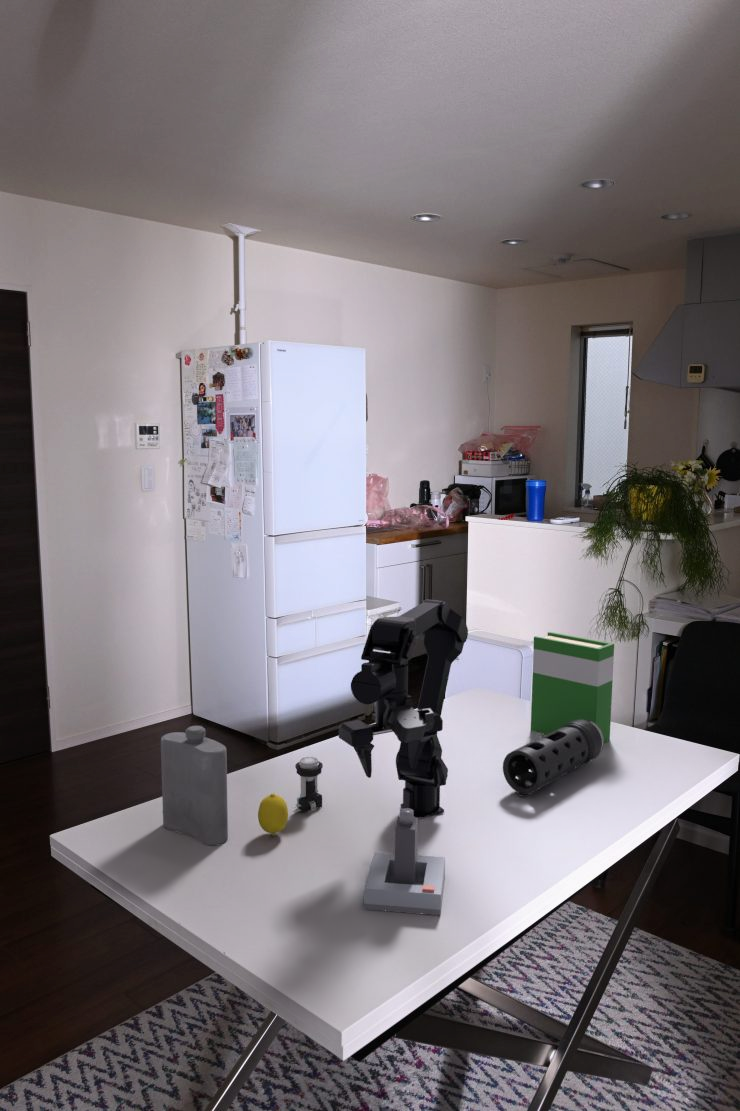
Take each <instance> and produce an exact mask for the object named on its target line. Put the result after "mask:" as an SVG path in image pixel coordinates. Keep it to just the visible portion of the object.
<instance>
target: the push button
mask: <svg viewBox="0 0 740 1111" xmlns="http://www.w3.org/2000/svg"><path fill="white" fill-rule="evenodd" d="M323 767H324V766H323V763H322V762H321V761H319V759H318V758H317V757H314V756H306V757H301V758H300V759H299V761H298V762H297V763H295V769H296V774H297V775H298V776H299V777H300V794H299V796H298V797H297V798H296V802H297V803H296V804H295V805H292V806H291V808H293V810H292V812H293V813H297V812H300V813H302V814H303V813H306V812H309V811H310V812H314V811H315V810H316V809H321V808H322V807H323V795H322V794H321V793H319V789H318V776H320V775H321V774H322V769H323ZM317 807H318V808H317ZM320 807H321V808H320ZM295 808H296V809H295Z"/></svg>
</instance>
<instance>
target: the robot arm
mask: <svg viewBox="0 0 740 1111" xmlns="http://www.w3.org/2000/svg"><path fill="white" fill-rule="evenodd" d="M421 634H422V635H423V639H422V640H423V642H422V643H423V647H424V649H425V652H426V656H427V661H426V665H425V671H424V676H423V681H422V684H421V685H422V686H421V690H420V696H419V699H418V706H417V709H414V705H413V699H412V698H413V697H412V696H411V695H409V694H408V693H409V661H410V660H411V659H412V658H413V656H412V655H411V654H412V652H413V649H414V647H415V646H416V645H417V637H418V636H420V635H421ZM468 635H469V629H468V625H467V624H466V622H465V619H464V618H463V616H462V615H460V614H458V612H455V611H454V610H453V609H452V608H451V607H450V606H449V604H448V603H447V602H445V601H443V600H435V599H427V598H426V599H425V600H421V601H420V603H419V604H418V605H416V606H414V607H413V608H411V609H409V610H408V611H405V612H404V613H403V614H400V615H399V616H383V617H378V618H376V619H375V621H374V622H373V624H371V626H370V629H369V630H368V634H367V637H366V640H365V644H364V647H363V650H362V654H361V657H360V659H361V660H363V661H368V662H363V663H361V670H359V672H357V673H356V674H354V675H353V677H352V679H351V682H350V690H351V693H352V696H353V697H354V698H355V699H356V701H358V702H359V703H361V704H362V705H372V704H374V703H375V713H371V720H372V721H374V722H375V723H373V724H366V723H365V722H363V721H361V720H360V719H356V720H351V721H344V722H342V723H341V724H340V725H339V727H338V738H339V739H340V740H342V741H343V742H345V743H346V744H348V745H349V746H350V747H353V749H354V751H355V752H356V755H357V758H358V759H359V762H360V764H361V766H362V769H363V771H364V773H365V776H366V777H367V778H368V779H370V778H371V779H372V770H373V769H372V765H373V764H372V751H373V749H374V748H375V744H373V743H372V742H373V741H374V736H377V735H382V734H383V735H384V734H387V733H393V734H394V735H395V736H396V738H397V740H398V741H399V742H400V745H399V748H398V751H397V753H396V757H395V767H396V772H397V779H398V780H399V781H404V788H402V789H403V790H402V803H400V807H401V809H403V808H410V809H412V810H413V811H414V813H413V817H417V818H418V819H421V818H425V817H426V818H427V817H430V816H433V815H438V814H443V813H444V812H445V808H443V807H441V806H440V804H441V803H440V799H441V797H440V796H441V787H442V786H446V785H447V779H448V776H449V774H448V772H449V769H448V766H447V765H446V764H445V762H444V760H443V758H442V755H443V754H442V753H443V748H442V745H441V743H440V741H439V740H440V739H439V737H438V732H442V731H443V725H444V724H443V722H444V721H443V718H442V711H443V705H444V701H445V696H446V691H447V687H448V686H447V685H448V682H449V676H450V672H451V671H450V670H451V667H452V663H453V662H454V661H456V660H457V659H458V657H460V655H461V654H462V653H463V650H464V649H463V648H464V645H465V643H466V642H467V639H468Z"/></svg>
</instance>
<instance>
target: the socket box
mask: <svg viewBox="0 0 740 1111" xmlns="http://www.w3.org/2000/svg"><path fill="white" fill-rule="evenodd" d="M394 872H395V852H394V853H392V852H391V853H390V852H378V851H374V852H373V855H372V859H371V863H370V866H369V870H368V873H367V876H366V880H365V883H364V887H363V910H364V911H365V910H367V911H377V910H382V911H381V912H389V911H399V912H398V913H401V912H409V913H408V914H413V913H423V914H422V915H425V914H431V915H430V916H437V915H442V905H443V897H444V890H445V889H444V888H445V879H446V857H444V856H434V855H432V856H431V855H418V854H417V882H416V885H410V884H397V883H394ZM385 910H386V911H385Z"/></svg>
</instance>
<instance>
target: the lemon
mask: <svg viewBox="0 0 740 1111" xmlns="http://www.w3.org/2000/svg"><path fill="white" fill-rule="evenodd" d="M257 819H258V824H259V825H260V826H259V827H261V828H262V830H263V831H265V832H266V833H268V834H270V835H271V836H275V835H277V834H278V833H279V832H281V831H283V829H284V828H285V827H286V825H287V824H288V820H289V810H288V805H287V802H286V801H285V799H284V798H283V797H281V796H280V795H278V794H275V793H271V794H270V795H267V796H265V797H264V798H263V799H262V800H261V802H260V803H259V807H258V810H257Z"/></svg>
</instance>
